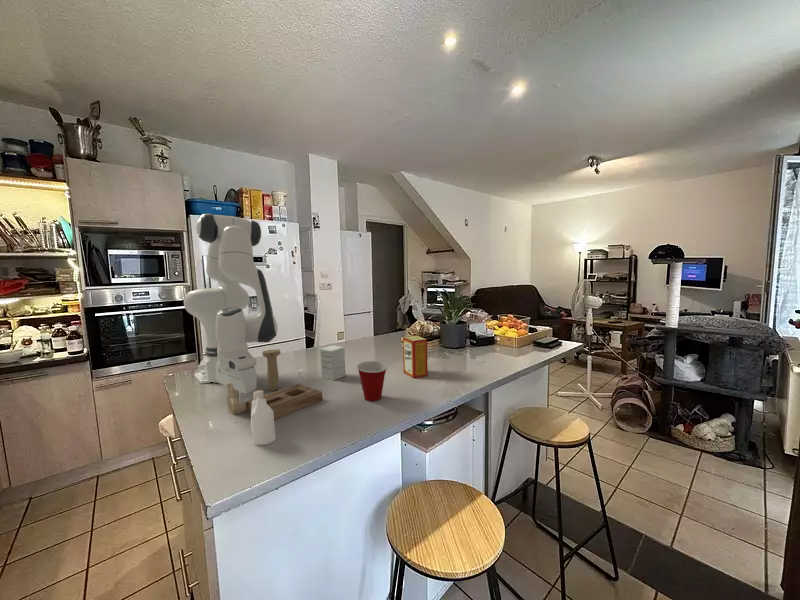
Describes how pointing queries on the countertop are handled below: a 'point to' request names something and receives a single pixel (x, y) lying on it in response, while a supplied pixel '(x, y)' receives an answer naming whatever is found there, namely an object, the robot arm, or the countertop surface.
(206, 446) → the countertop surface
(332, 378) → the mini drawer cabinet
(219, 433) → the countertop surface
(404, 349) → the baking soda box
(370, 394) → the plastic cup
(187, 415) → the countertop surface
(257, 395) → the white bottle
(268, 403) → the socket block
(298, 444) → the countertop surface
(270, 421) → the white sloped-shoulder bottle
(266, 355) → the handle
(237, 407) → the maple peg
